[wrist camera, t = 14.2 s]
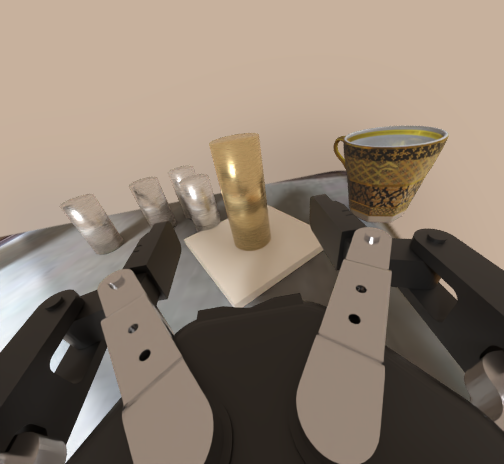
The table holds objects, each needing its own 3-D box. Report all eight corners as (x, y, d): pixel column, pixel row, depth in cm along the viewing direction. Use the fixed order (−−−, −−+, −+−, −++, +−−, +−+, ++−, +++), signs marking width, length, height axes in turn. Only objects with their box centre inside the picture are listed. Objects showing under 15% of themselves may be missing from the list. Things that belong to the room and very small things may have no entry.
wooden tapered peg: (247, 256, 23) (224, 148, 16) (227, 239, 27) (201, 143, 20) (278, 238, 25) (269, 134, 18) (256, 224, 29) (241, 132, 22)
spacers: (97, 291, 24) (47, 238, 19) (95, 246, 32) (61, 201, 28) (229, 226, 31) (216, 176, 26) (199, 203, 40) (185, 162, 35)
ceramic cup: (434, 211, 27) (469, 127, 21) (385, 241, 23) (411, 152, 18) (351, 185, 36) (359, 123, 31) (308, 203, 33) (309, 138, 28)
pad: (236, 311, 19) (234, 304, 18) (186, 244, 29) (183, 239, 28) (333, 243, 24) (333, 236, 24) (262, 207, 34) (262, 202, 34)
